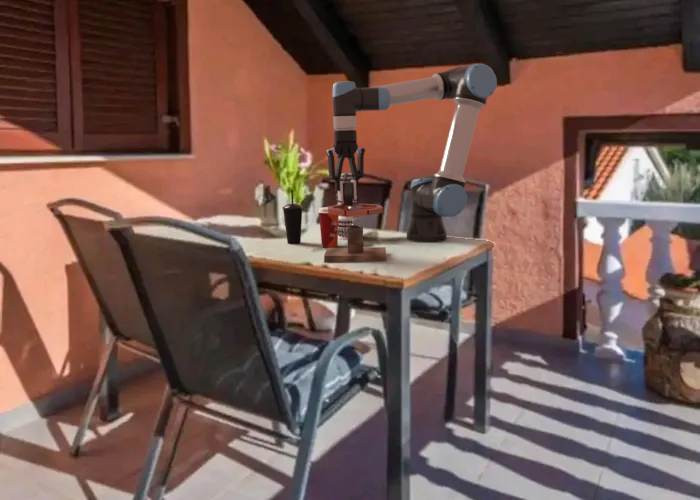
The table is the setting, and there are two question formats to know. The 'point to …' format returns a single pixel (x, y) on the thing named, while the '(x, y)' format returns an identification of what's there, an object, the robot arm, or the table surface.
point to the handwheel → (353, 206)
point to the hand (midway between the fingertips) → (347, 199)
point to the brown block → (355, 250)
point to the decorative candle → (345, 220)
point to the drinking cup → (293, 221)
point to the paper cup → (328, 228)
